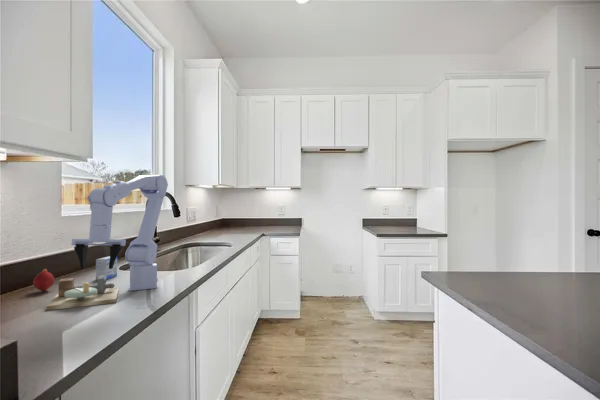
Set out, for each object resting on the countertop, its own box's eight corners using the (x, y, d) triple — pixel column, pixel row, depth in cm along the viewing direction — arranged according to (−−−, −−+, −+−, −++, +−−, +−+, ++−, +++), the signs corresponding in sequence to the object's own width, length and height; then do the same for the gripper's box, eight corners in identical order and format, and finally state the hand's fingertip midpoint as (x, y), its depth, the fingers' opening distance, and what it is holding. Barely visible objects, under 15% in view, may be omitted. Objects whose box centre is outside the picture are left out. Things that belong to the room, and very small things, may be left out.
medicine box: (105, 280, 130) (106, 259, 130) (95, 279, 130) (95, 259, 130) (117, 275, 138) (117, 256, 138) (107, 275, 138) (107, 255, 138)
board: (118, 291, 114) (118, 288, 114) (116, 302, 101) (116, 298, 101) (57, 297, 105) (57, 293, 105) (46, 310, 93) (46, 306, 93)
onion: (42, 294, 109) (42, 271, 109) (28, 293, 110) (29, 270, 110) (58, 289, 114) (58, 268, 114) (45, 288, 116) (45, 267, 116)
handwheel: (97, 293, 105) (98, 277, 105) (94, 300, 98) (94, 283, 98) (67, 296, 102) (67, 279, 102) (61, 304, 94) (61, 285, 94)
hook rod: (114, 288, 111) (115, 274, 112) (113, 291, 108) (114, 276, 108) (60, 293, 104) (61, 278, 105) (58, 296, 101) (58, 281, 101)
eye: (105, 289, 111) (106, 274, 111) (104, 293, 106) (104, 278, 106) (99, 290, 110) (99, 275, 110) (97, 294, 105) (97, 278, 105)
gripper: (69, 224, 94) (65, 270, 93) (123, 226, 99) (120, 269, 97) (77, 224, 101) (73, 267, 100) (128, 226, 105) (124, 266, 104)
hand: (97, 268), depth 99 cm, fingers open, 7 cm apart
